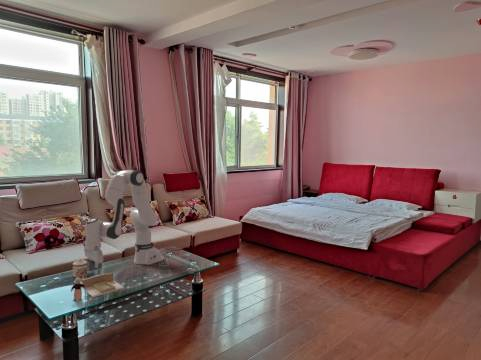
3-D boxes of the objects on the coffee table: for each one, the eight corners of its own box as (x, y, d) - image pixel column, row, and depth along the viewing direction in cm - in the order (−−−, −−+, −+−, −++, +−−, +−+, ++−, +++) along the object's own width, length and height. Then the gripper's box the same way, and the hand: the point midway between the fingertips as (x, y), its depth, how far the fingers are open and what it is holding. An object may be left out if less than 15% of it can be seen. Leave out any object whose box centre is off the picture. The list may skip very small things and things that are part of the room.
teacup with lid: (75, 279, 220) (75, 262, 219) (70, 275, 226) (70, 258, 225) (94, 275, 228) (94, 258, 227) (89, 271, 235) (89, 255, 234)
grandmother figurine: (71, 302, 188) (71, 280, 187) (70, 300, 191) (69, 277, 190) (86, 299, 193) (86, 277, 191) (85, 296, 196) (84, 275, 195)
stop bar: (99, 266, 221) (99, 258, 221) (102, 268, 218) (101, 260, 218) (86, 269, 216) (86, 262, 215) (89, 271, 213) (88, 263, 212)
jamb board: (103, 275, 229) (103, 266, 228) (124, 288, 208) (124, 279, 207) (73, 282, 215) (73, 273, 215) (92, 297, 195) (92, 287, 194)
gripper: (105, 247, 210) (106, 269, 212) (91, 240, 225) (92, 261, 226) (95, 249, 206) (96, 272, 207) (81, 242, 220) (83, 263, 222)
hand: (94, 266), depth 217 cm, fingers closed on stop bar, 4 cm apart
